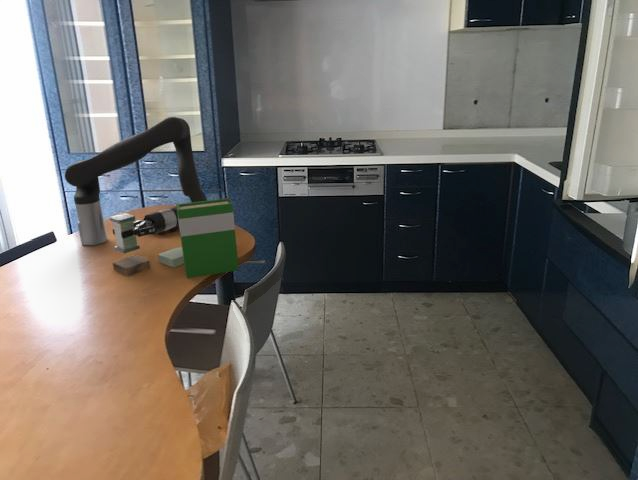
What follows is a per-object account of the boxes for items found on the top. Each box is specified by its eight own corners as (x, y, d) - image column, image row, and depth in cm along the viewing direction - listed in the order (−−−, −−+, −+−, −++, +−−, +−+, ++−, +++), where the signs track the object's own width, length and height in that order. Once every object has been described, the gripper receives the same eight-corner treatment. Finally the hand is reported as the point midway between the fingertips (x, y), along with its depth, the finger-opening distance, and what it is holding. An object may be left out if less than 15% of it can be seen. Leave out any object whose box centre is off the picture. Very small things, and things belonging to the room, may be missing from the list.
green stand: (173, 267, 180) (172, 259, 179) (158, 261, 186) (157, 254, 185) (194, 259, 186) (193, 252, 185) (179, 254, 192) (178, 247, 191)
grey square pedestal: (124, 253, 173) (118, 220, 169) (115, 249, 177) (109, 217, 173) (139, 248, 178) (134, 216, 174) (130, 244, 181) (125, 212, 177)
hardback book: (235, 262, 183) (228, 198, 174) (238, 270, 176) (232, 203, 168) (185, 270, 178) (176, 204, 169) (186, 278, 171) (177, 210, 163)
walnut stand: (127, 276, 174) (126, 268, 173) (113, 270, 180) (112, 262, 179) (150, 268, 180) (149, 260, 179) (136, 262, 186) (135, 254, 185)
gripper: (148, 207, 188) (105, 219, 176) (170, 214, 180) (127, 227, 168) (150, 226, 191) (108, 239, 179) (173, 234, 182) (130, 248, 170)
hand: (117, 233), depth 173 cm, fingers closed on grey square pedestal, 5 cm apart
